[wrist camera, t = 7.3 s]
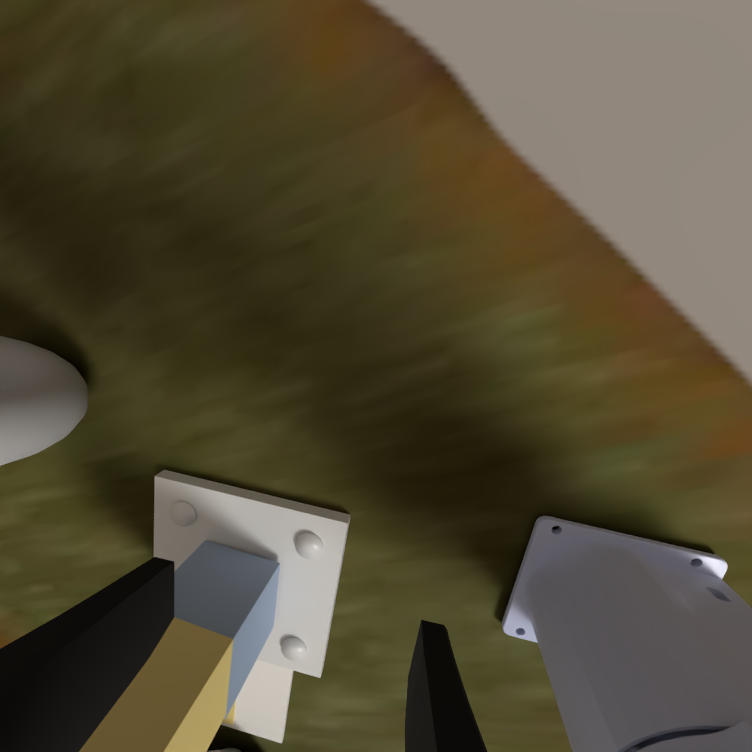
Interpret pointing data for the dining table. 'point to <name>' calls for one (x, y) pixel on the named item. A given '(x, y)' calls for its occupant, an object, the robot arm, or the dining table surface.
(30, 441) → the donut
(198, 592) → the slate block
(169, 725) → the mustard block
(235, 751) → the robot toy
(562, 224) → the dining table surface
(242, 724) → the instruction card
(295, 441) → the dining table surface
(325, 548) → the plate
